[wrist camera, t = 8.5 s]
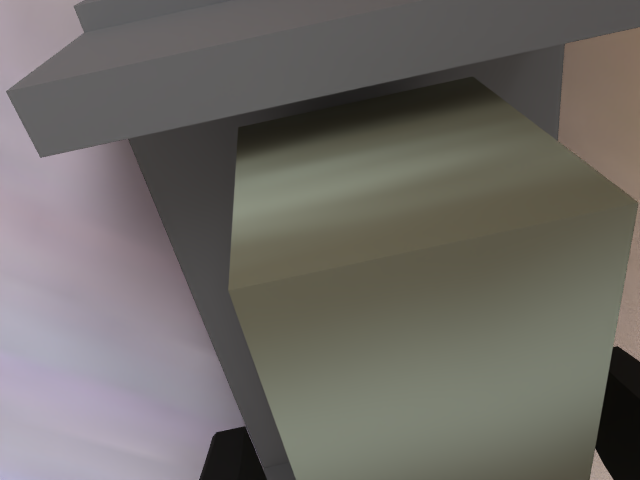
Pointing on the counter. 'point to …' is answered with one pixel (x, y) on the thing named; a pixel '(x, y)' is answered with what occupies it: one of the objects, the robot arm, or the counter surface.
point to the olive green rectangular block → (428, 287)
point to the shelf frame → (275, 105)
